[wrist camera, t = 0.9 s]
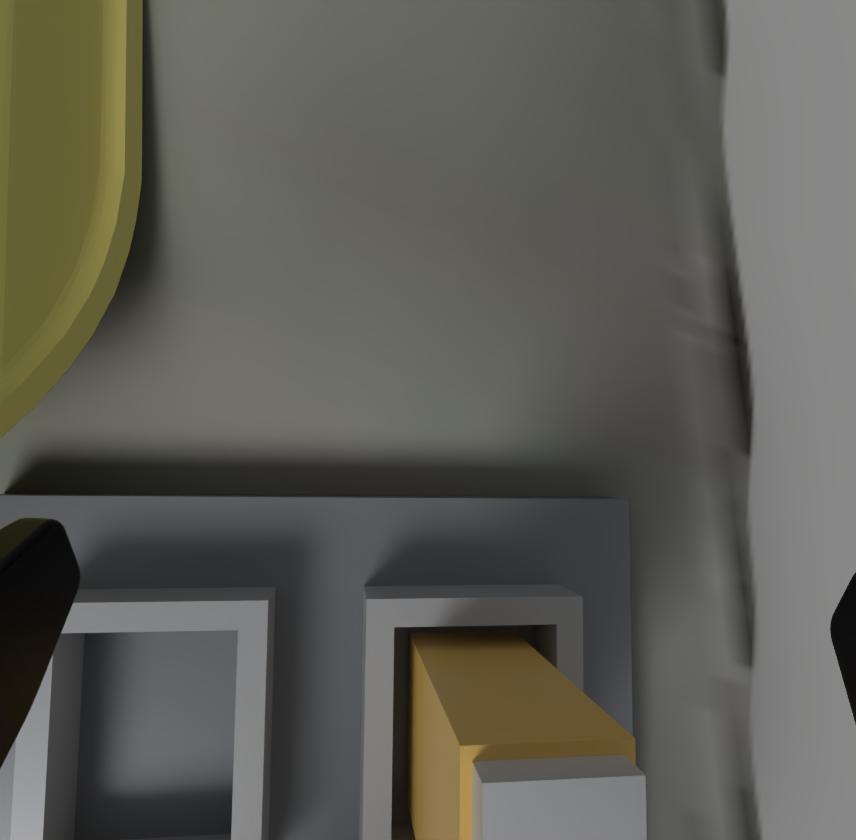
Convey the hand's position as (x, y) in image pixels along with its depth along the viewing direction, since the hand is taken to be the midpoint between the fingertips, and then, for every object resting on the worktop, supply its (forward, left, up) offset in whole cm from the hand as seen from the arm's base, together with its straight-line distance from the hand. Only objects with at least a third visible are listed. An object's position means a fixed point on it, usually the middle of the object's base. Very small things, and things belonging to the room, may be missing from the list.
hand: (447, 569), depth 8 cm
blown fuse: (-6, -2, -11) cm, 13 cm away
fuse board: (-6, +2, -13) cm, 14 cm away
